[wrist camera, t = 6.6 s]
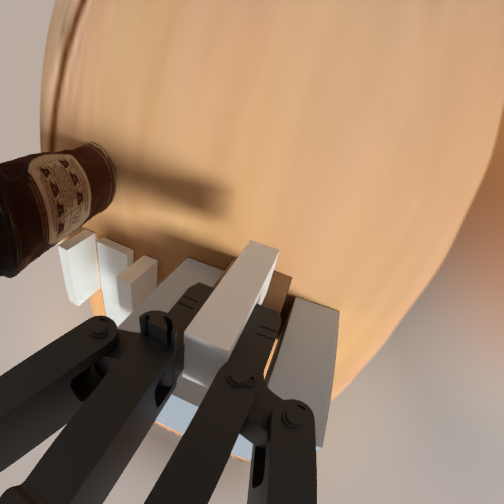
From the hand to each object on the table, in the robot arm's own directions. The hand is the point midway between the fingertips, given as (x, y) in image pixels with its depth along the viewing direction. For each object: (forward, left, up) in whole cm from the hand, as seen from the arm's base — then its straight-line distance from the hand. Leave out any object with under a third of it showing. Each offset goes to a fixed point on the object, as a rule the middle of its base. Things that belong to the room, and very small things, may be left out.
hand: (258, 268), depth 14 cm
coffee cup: (0, -17, -6) cm, 18 cm away
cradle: (+13, -14, -6) cm, 20 cm away
